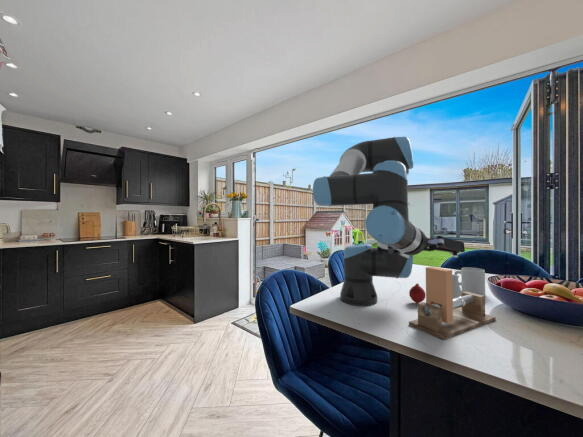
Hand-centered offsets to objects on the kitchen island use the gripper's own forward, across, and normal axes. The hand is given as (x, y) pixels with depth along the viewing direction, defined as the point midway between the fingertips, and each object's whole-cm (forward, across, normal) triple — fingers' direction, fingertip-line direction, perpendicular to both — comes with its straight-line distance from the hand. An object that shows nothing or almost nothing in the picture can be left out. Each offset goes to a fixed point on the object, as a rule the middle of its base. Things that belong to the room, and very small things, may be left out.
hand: (430, 253), depth 76 cm
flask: (+41, -2, -12) cm, 43 cm away
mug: (+55, +1, -8) cm, 56 cm away
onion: (+26, -12, -15) cm, 33 cm away
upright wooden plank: (+9, -1, -19) cm, 21 cm away
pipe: (+14, +2, -16) cm, 21 cm away
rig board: (+16, +2, -20) cm, 25 cm away
